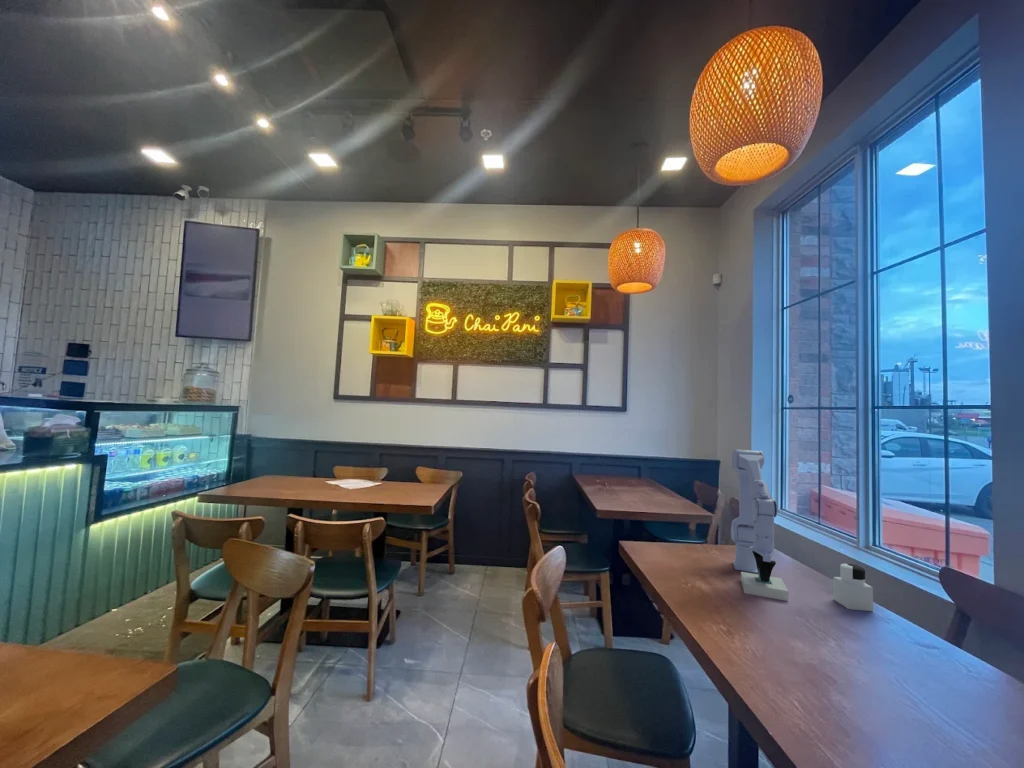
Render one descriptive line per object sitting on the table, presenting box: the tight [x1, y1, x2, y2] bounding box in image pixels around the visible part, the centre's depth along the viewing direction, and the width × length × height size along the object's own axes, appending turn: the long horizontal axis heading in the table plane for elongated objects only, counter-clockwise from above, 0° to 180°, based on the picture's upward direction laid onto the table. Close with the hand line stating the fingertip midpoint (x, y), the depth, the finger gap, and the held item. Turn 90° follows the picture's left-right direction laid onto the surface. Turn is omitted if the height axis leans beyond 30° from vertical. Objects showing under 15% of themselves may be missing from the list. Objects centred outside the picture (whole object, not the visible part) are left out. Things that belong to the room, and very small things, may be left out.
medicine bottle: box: [832, 562, 874, 612], centre depth 133 cm, size 7×7×12 cm
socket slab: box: [740, 571, 789, 602], centre depth 141 cm, size 12×12×3 cm
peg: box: [757, 567, 770, 584], centre depth 141 cm, size 3×3×7 cm
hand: (763, 577), depth 141 cm, fingers open, 6 cm apart
